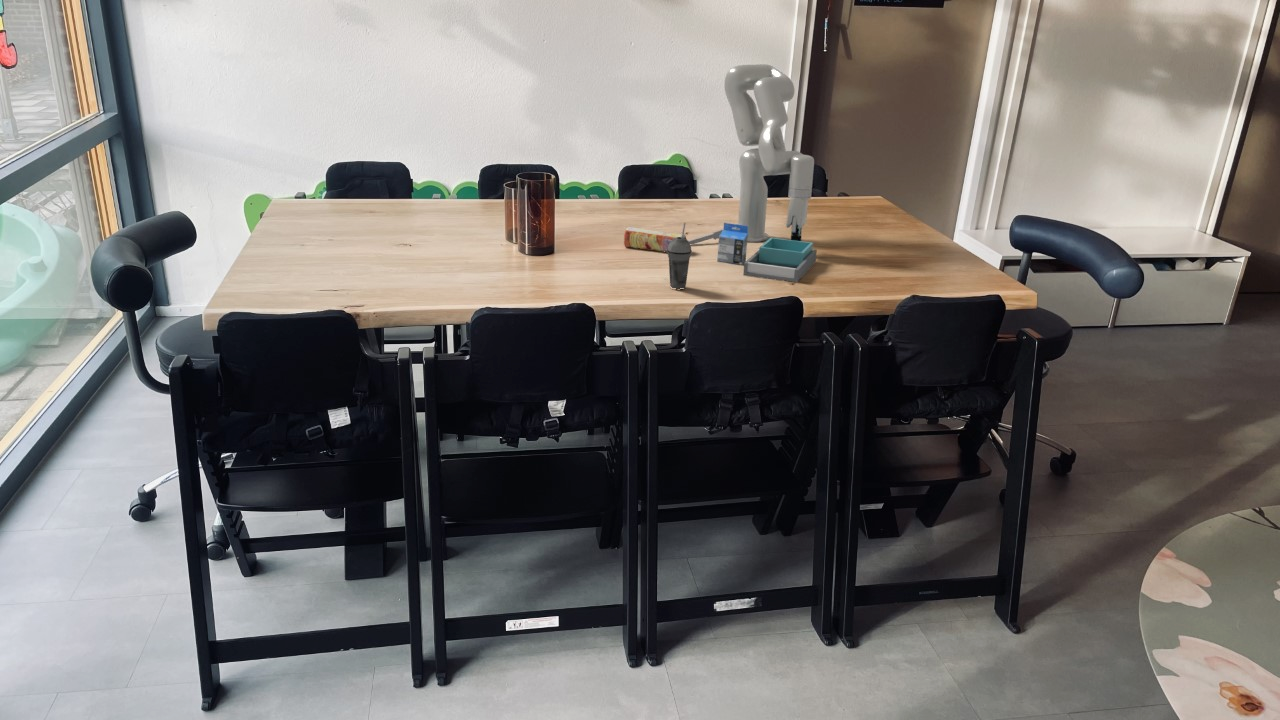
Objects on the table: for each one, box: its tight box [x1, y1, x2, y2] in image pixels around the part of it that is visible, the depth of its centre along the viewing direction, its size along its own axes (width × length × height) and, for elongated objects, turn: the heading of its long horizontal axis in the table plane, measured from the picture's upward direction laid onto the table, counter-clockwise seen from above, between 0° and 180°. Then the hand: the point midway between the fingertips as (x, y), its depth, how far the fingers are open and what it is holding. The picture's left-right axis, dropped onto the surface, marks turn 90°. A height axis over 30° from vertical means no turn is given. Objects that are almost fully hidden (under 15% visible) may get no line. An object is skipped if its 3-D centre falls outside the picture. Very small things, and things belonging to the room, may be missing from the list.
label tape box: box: [716, 222, 748, 266], centre depth 325 cm, size 9×4×12 cm, turn 62°
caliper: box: [687, 228, 724, 245], centre depth 347 cm, size 20×1×6 cm, turn 116°
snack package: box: [623, 226, 687, 253], centre depth 338 cm, size 21×7×7 cm, turn 69°
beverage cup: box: [667, 222, 692, 289], centre depth 295 cm, size 7×7×20 cm
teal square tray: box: [758, 237, 814, 267], centre depth 325 cm, size 14×14×5 cm
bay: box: [742, 249, 818, 283], centre depth 321 cm, size 17×26×4 cm, turn 158°
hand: (795, 246), depth 337 cm, fingers closed
